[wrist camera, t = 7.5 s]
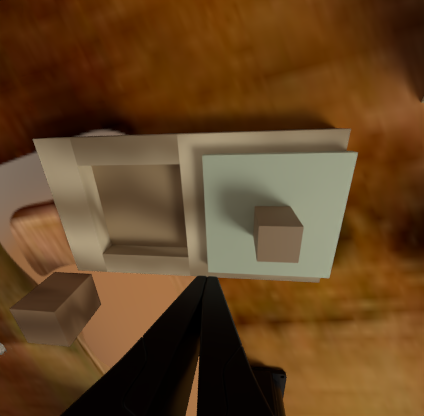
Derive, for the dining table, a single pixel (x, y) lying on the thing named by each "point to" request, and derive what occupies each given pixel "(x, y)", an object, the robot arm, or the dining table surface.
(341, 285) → the dining table surface
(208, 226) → the cover
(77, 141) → the puzzle board
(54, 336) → the block
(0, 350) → the vase
